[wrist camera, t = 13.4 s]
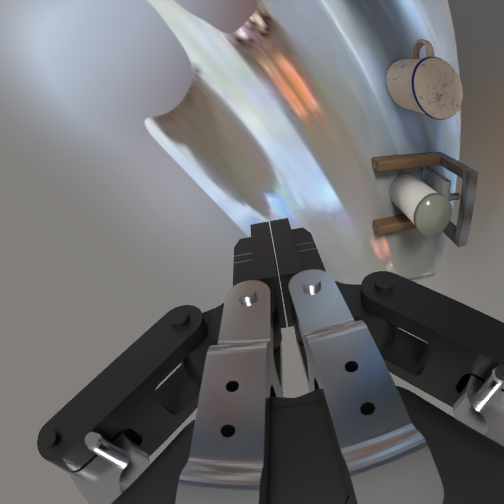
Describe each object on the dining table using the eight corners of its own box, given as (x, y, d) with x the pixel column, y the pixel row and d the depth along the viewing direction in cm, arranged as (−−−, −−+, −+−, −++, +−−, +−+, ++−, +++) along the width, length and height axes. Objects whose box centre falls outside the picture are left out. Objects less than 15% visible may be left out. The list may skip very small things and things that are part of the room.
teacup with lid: (429, 113, 36) (474, 128, 26) (384, 108, 37) (425, 120, 27) (427, 46, 30) (472, 45, 20) (380, 37, 30) (421, 29, 20)
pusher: (421, 166, 41) (446, 181, 35) (445, 164, 41) (470, 179, 34) (419, 210, 46) (440, 230, 39) (442, 206, 45) (464, 225, 39)
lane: (371, 157, 41) (402, 179, 32) (441, 152, 40) (477, 172, 31) (372, 227, 48) (397, 261, 39) (436, 216, 47) (466, 244, 38)
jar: (387, 176, 43) (417, 201, 34) (419, 169, 42) (452, 192, 33) (389, 210, 46) (416, 241, 38) (420, 203, 45) (450, 230, 37)
